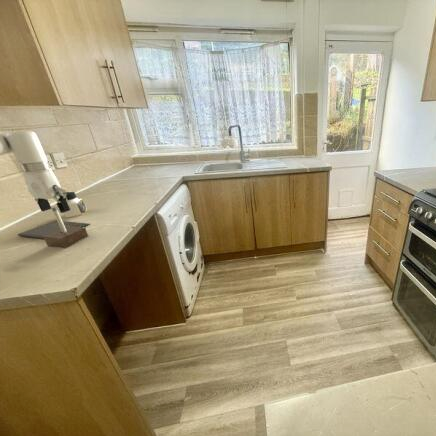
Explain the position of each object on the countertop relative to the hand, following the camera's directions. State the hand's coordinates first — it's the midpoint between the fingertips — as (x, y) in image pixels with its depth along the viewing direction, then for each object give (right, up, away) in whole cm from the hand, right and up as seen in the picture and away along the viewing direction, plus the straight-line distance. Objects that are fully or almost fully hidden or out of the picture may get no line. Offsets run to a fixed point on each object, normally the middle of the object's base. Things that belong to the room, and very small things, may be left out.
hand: (56, 210), depth 95 cm
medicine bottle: (-21, -1, +33) cm, 39 cm away
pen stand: (0, -13, +5) cm, 14 cm away
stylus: (0, -13, +5) cm, 14 cm away
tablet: (-15, -8, +15) cm, 23 cm away
